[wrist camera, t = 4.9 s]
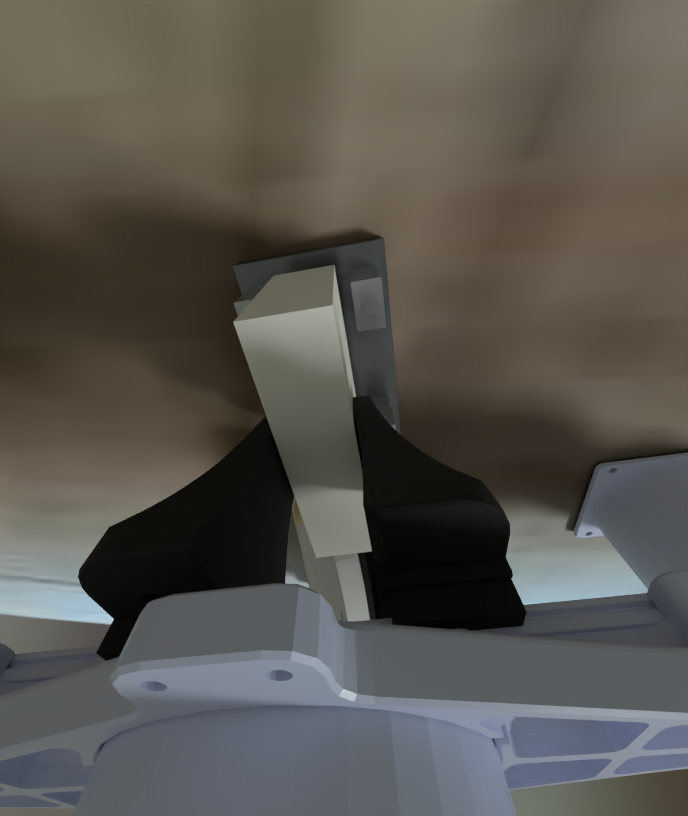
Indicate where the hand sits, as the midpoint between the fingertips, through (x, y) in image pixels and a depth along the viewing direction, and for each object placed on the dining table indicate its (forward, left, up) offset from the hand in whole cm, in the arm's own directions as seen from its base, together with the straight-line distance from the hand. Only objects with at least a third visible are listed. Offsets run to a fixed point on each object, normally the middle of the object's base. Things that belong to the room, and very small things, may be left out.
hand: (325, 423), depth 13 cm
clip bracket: (0, 0, -7) cm, 7 cm away
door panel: (0, 0, -4) cm, 4 cm away
